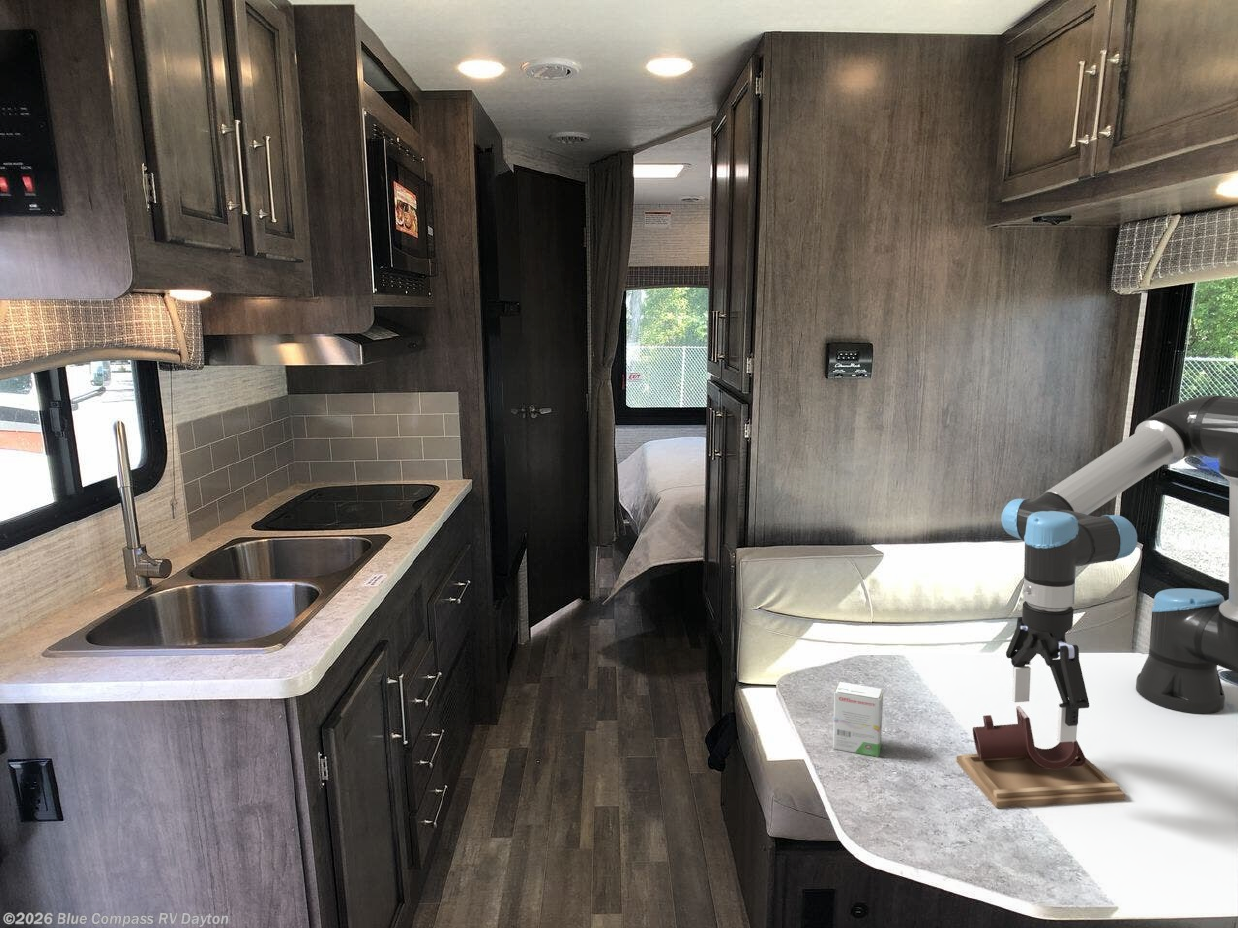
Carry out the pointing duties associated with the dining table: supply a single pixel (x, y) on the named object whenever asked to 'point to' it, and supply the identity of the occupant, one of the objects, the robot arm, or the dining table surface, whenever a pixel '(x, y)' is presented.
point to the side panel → (1038, 782)
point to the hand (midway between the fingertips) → (1042, 719)
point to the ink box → (857, 719)
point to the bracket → (1023, 744)
